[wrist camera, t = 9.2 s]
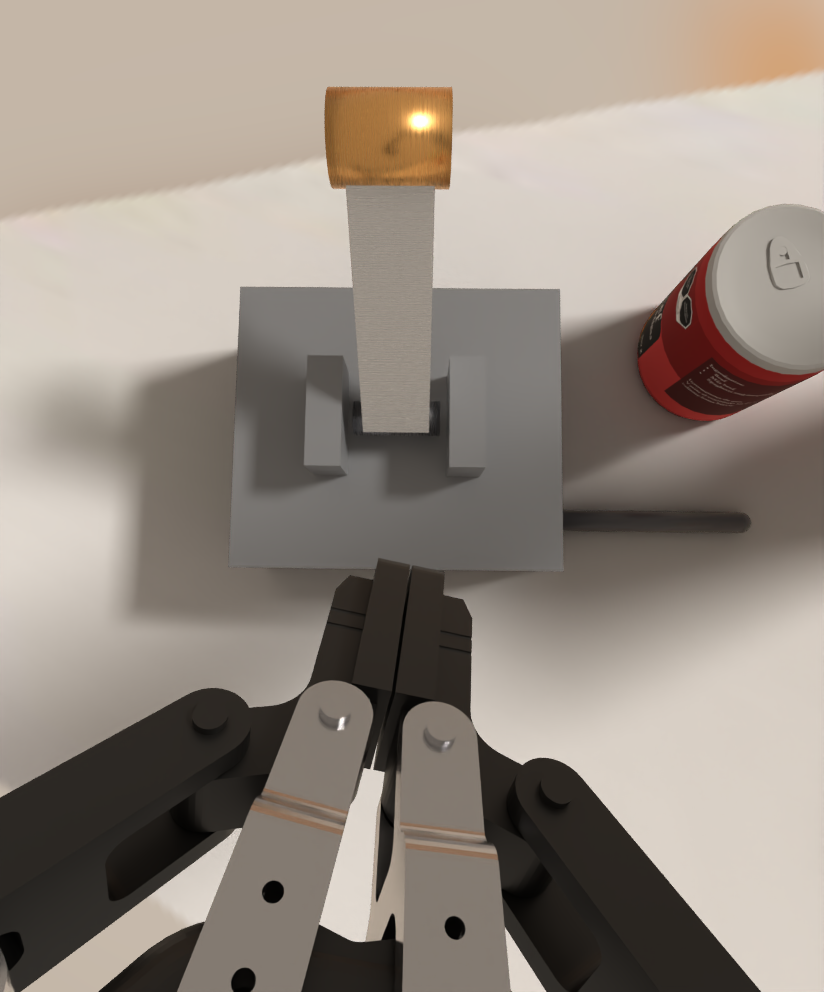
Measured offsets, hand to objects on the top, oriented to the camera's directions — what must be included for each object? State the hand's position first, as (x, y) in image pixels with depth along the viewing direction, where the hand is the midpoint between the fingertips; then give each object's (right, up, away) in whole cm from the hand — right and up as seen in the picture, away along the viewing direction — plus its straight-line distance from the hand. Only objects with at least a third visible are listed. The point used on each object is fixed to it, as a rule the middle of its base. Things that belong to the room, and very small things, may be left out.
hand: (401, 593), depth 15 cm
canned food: (+18, +10, +26) cm, 33 cm away
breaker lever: (0, +6, +16) cm, 17 cm away
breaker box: (+6, +5, +25) cm, 27 cm away
